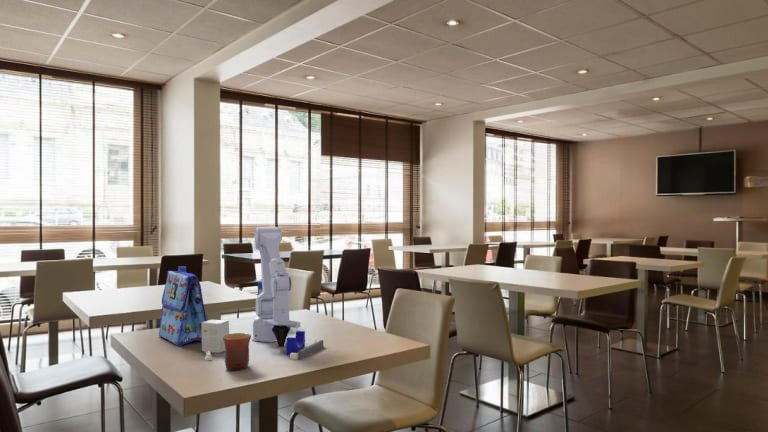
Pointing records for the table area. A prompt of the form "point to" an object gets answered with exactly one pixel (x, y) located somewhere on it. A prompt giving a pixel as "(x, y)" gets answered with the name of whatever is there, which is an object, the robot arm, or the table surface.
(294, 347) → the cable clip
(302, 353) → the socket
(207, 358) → the power adapter
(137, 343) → the table surface
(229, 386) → the table surface
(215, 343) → the small box
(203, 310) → the lunch bag
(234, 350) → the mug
